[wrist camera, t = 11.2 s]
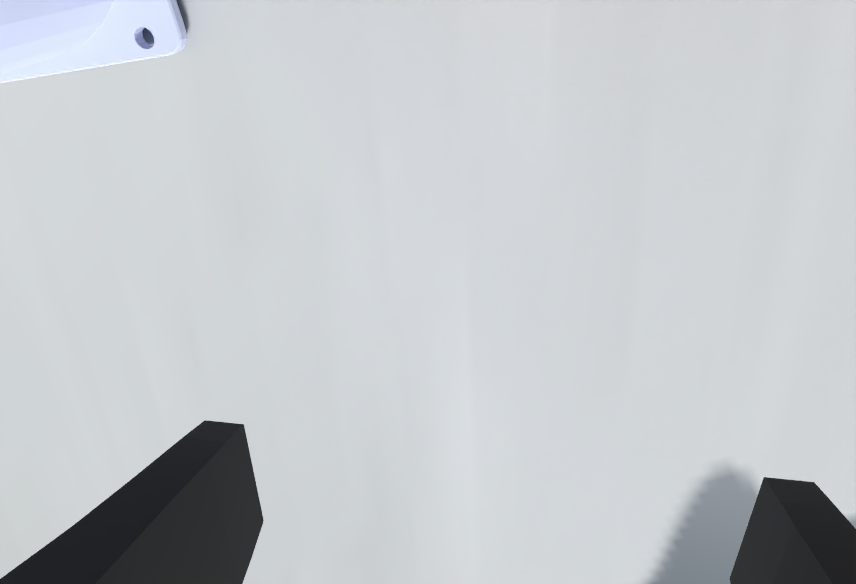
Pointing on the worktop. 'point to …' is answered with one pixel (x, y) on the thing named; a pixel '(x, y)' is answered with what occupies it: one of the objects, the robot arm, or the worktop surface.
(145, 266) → the worktop surface
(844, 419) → the worktop surface
